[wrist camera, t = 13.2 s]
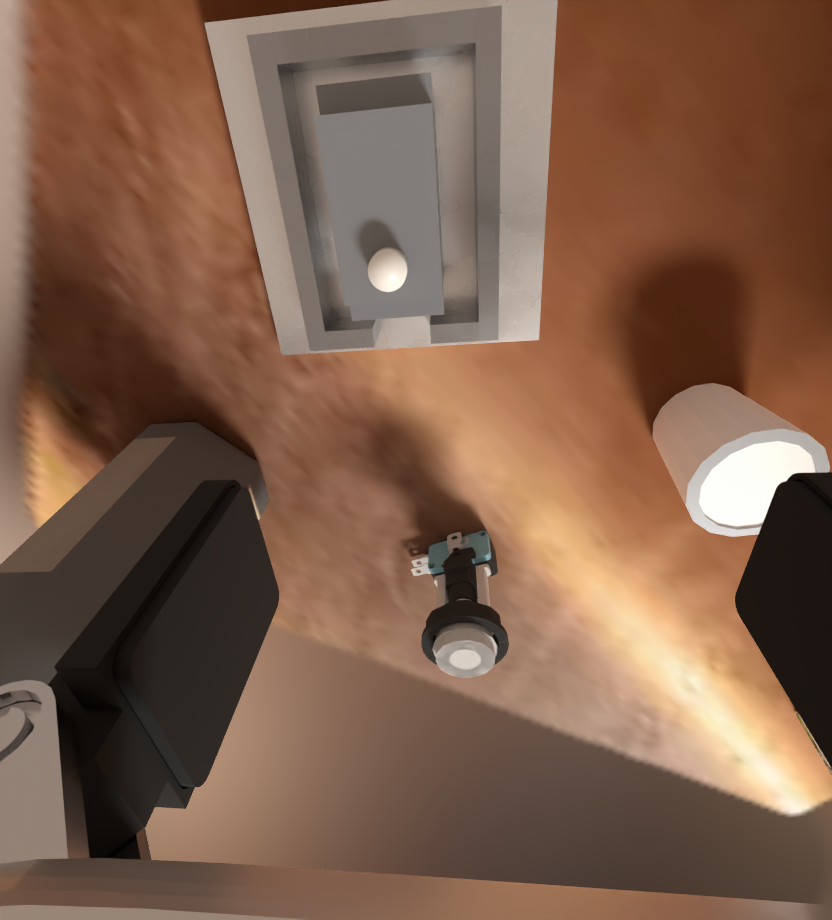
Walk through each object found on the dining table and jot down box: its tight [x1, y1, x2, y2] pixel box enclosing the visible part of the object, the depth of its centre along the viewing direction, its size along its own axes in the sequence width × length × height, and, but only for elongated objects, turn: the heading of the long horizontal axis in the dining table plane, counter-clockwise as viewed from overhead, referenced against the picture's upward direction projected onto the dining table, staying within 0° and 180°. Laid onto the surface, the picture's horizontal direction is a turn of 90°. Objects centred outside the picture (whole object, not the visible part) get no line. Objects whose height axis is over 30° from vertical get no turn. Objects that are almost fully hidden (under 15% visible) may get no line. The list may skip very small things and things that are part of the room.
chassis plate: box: [204, 0, 557, 355], centre depth 24 cm, size 15×15×4 cm
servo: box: [314, 72, 444, 321], centre depth 22 cm, size 4×9×6 cm, turn 5°
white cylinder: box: [652, 383, 830, 537], centre depth 28 cm, size 7×7×7 cm
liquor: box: [0, 422, 269, 686], centre depth 23 cm, size 9×9×30 cm
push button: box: [411, 530, 509, 677], centre depth 34 cm, size 7×5×10 cm
